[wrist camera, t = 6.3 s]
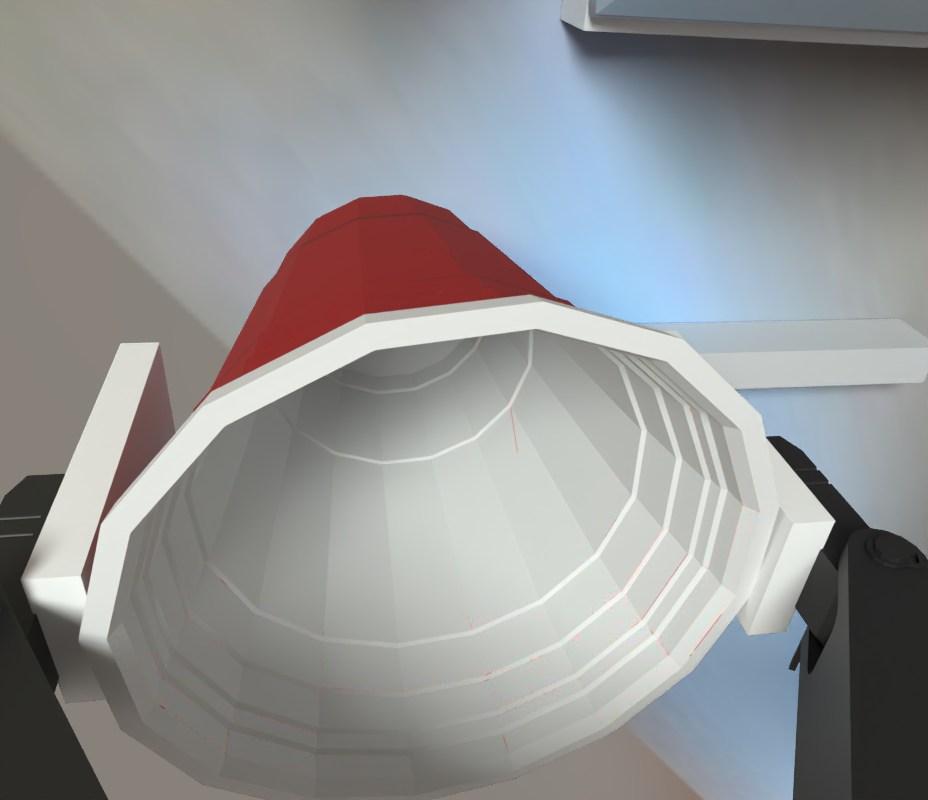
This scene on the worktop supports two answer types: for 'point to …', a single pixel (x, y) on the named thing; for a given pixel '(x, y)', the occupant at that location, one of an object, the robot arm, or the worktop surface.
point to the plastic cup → (423, 527)
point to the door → (778, 13)
